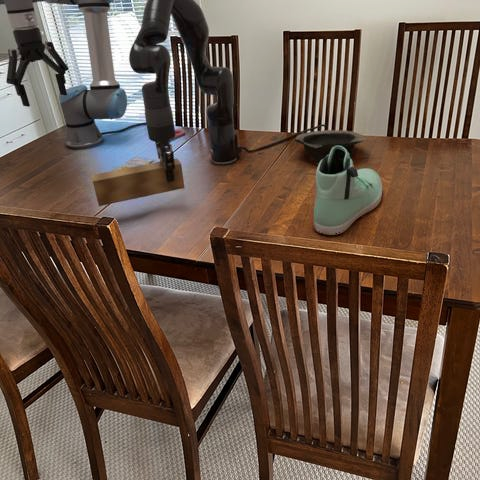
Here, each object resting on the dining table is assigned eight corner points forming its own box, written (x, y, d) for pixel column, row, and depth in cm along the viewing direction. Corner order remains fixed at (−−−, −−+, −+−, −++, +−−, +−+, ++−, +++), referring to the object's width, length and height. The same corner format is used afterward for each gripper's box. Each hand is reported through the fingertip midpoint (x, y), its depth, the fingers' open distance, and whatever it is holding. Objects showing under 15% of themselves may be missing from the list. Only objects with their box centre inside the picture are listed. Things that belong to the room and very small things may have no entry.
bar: (98, 206, 136) (92, 181, 132) (97, 199, 140) (91, 174, 136) (184, 188, 143) (181, 163, 139) (180, 182, 147) (177, 158, 143)
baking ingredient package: (109, 171, 174) (134, 157, 185) (109, 172, 174) (134, 158, 185) (129, 174, 170) (153, 159, 182) (129, 175, 170) (153, 160, 182)
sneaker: (389, 187, 148) (396, 123, 138) (356, 242, 123) (361, 168, 112) (346, 181, 154) (350, 119, 144) (306, 232, 129) (307, 161, 118)
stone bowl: (322, 174, 159) (321, 147, 155) (282, 157, 179) (280, 133, 175) (380, 156, 168) (380, 130, 163) (336, 142, 188) (335, 118, 184)
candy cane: (153, 142, 199) (153, 139, 199) (177, 131, 210) (176, 127, 209) (164, 144, 196) (163, 141, 196) (187, 133, 206) (187, 129, 206)
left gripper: (-8, 35, 131) (16, 112, 142) (68, 21, 147) (85, 91, 159) (-22, 34, 135) (3, 109, 146) (54, 21, 152) (71, 89, 163)
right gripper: (179, 126, 128) (187, 184, 137) (167, 112, 140) (175, 167, 149) (151, 131, 126) (161, 189, 135) (141, 117, 138) (151, 171, 147)
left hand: (45, 100), depth 152 cm, fingers open, 13 cm apart
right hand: (168, 177), depth 142 cm, fingers closed on bar, 5 cm apart
